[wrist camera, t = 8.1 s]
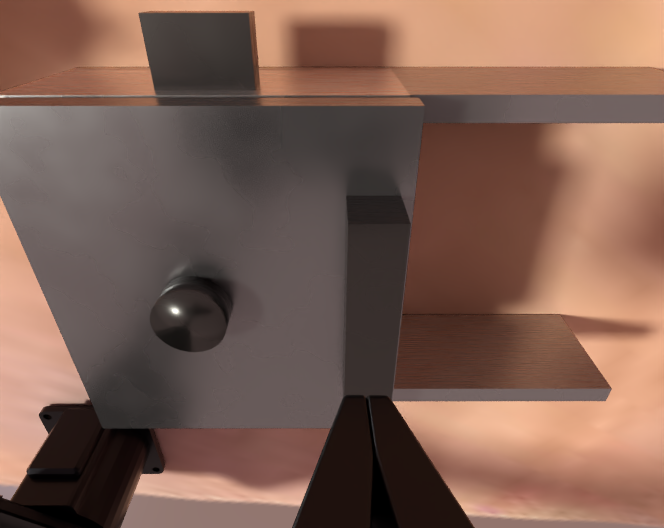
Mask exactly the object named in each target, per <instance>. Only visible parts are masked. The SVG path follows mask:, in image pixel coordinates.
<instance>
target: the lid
mask: <svg viewBox="0 0 664 528" xmlns="http://www.w3.org/2000/svg"><path fill="white" fill-rule="evenodd" d="M424 111H425V105H424V104H423V103H422V101H421V100H420V99H419V98H0V196H1V198H2V201H3V203H4V205H5V207H6V210H7V212H8V214H9V216H10V219H11V221H12V223H13V226H14V228H15V230H16V232H17V235H18V237H19V239H20V241H21V244H22V246H23V248H24V250H25V253H26V255H27V257H28V260H29V262H30V264H31V266H32V269H33V271H34V273H35V275H36V278H37V280H38V282H39V285H40V287H41V289H42V291H43V294H44V296H45V298H46V300H47V303H48V305H49V307H50V309H51V312H52V314H53V316H54V319H55V321H56V323H57V325H58V328H59V330H60V332H61V334H62V337H63V339H64V341H65V344H66V346H67V348H68V350H69V353H70V355H71V357H72V359H73V362H74V364H75V366H76V369H77V371H78V373H79V375H80V378H81V380H82V382H83V384H84V387H85V389H86V391H87V393H88V396H89V398H90V400H91V403H92V405H93V407H94V409H95V412H96V414H97V416H98V418H99V421H100V423H101V425H102V428H331V427H332V424H333V422H334V419H335V417H336V414H337V412H338V409H339V406H340V404H341V401H342V399H343V397H344V396H345V395H364V396H365V397H366V398H367V396H369V395H386V396H388V397H389V398H390V399H391V400H393V391H394V382H395V373H396V364H397V355H398V346H399V337H400V328H401V319H402V310H403V301H404V292H405V283H406V273H407V264H408V255H409V246H410V237H411V228H412V219H413V210H414V201H415V192H416V183H417V174H418V165H419V156H420V147H421V138H422V129H423V120H424Z"/></svg>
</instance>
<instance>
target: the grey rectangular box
mask: <svg viewBox="0 0 664 528" xmlns="http://www.w3.org/2000/svg"><path fill="white" fill-rule="evenodd" d="M139 18H140V22H141V27H142V32H143V37H144V42H145V47H146V51H147V56H148V61H149V66H150V67H76V68H73V69H70V70H67V71H64V72H61V73H57V74H54V75H51V76H48V77H45V78H41V79H38V80H35V81H32V82H29V83H25V84H22V85H19V86H16V87H13V88H10V89H6V90H3V91H0V98H419V99H420V100H421V101H422V103H423V104H424V105H425V111H424V120H423V123H664V71H663V70H659V69H655V68H651V67H259V65H258V53H257V41H256V29H255V17H254V11H149V12H142V13H139ZM611 389H612V388H611V387H610V385H609V384H608V382H607V381H606V380H605V378H604V377H603V375H602V374H601V372H600V371H599V370H598V368H597V367H596V365H595V364H594V362H593V361H592V360H591V358H590V357H589V355H588V354H587V352H586V351H585V350H584V348H583V347H582V345H581V344H580V342H579V341H578V340H577V338H576V337H575V335H574V334H573V332H572V331H571V330H570V328H569V327H568V325H567V324H566V322H565V321H564V320H563V318H562V317H561V315H402V319H401V328H400V337H399V346H398V355H397V364H396V373H395V382H394V391H393V400H392V401H606V399H607V397H608V395H609V393H610V391H611Z"/></svg>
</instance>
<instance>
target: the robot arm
mask: <svg viewBox="0 0 664 528" xmlns="http://www.w3.org/2000/svg"><path fill="white" fill-rule="evenodd" d="M39 417H40V419H41V421H42V423H43V425H44V426H45V428H46V430H47V432H48V434H49V435H48V437H47V438H46V440H45V441H44V443H43V445H42V446H41V448H40V449H39V451H38V453H37V454H36V456H35V457H34V459H33V460H32V462H31V464H30V465H29V467H28V468H27V471H26V472H27V474H26V476H25V478H24V479H23V481H22V482H21V484H20V486H19V487H18V489H17V490H16V492H15V494H14V495H13V497H12V498H11V500H10V501H9V500H7V499H4V498H2V496H1V495H0V528H120V527H121V525H122V522H123V520H124V517H125V515H126V512H127V509H128V507H129V504H130V501H131V499H132V497H133V494H134V491H135V489H136V486H137V484H138V481H139V479H140V476H141V474H160V473H162V472H163V471H164V468H165V462H164V459H163V456H162V453H161V450H160V447H159V444H158V441H157V439H156V436H155V433H154V430H153V428H102V425H101V423H100V421H99V418H98V416H97V414H96V412H95V409H94V407H93V406H47V407H44V408H43V409H42V410H41V412H40V413H39ZM292 528H475V527H474V526H473V524H472V523H471V521H470V520H469V518H468V517H467V515H466V514H465V512H464V511H463V509H462V508H461V506H460V504H459V503H458V501H457V500H456V498H455V497H454V495H453V494H452V492H451V491H450V489H449V488H448V486H447V485H446V483H445V481H444V480H443V478H442V477H441V475H440V474H439V472H438V471H437V469H436V468H435V466H434V465H433V463H432V462H431V460H430V459H429V457H428V455H427V454H426V452H425V451H424V449H423V448H422V446H421V445H420V443H419V442H418V440H417V439H416V437H415V436H414V434H413V432H412V431H411V429H410V428H409V426H408V425H407V423H406V422H405V420H404V419H403V417H402V416H401V414H400V413H399V411H398V410H397V408H396V406H395V405H394V403H393V402H392V400H391V399H390V398H389V397H388V396H386V395H369V396H367V398H366V397H365V396H364V395H345V396H344V397H343V399H342V401H341V404H340V406H339V409H338V412H337V414H336V417H335V419H334V422H333V424H332V427H331V430H330V432H329V435H328V437H327V440H326V442H325V445H324V447H323V450H322V453H321V455H320V458H319V460H318V463H317V465H316V468H315V470H314V473H313V476H312V478H311V481H310V483H309V486H308V488H307V491H306V493H305V496H304V499H303V501H302V504H301V506H300V509H299V511H298V514H297V517H296V519H295V522H294V524H293V527H292Z"/></svg>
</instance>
